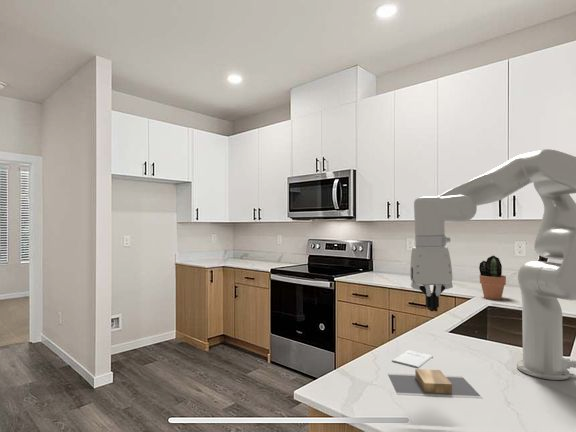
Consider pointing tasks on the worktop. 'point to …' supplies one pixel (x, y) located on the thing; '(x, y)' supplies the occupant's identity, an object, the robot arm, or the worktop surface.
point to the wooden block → (433, 381)
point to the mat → (411, 386)
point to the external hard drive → (413, 358)
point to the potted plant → (492, 278)
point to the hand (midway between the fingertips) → (432, 310)
